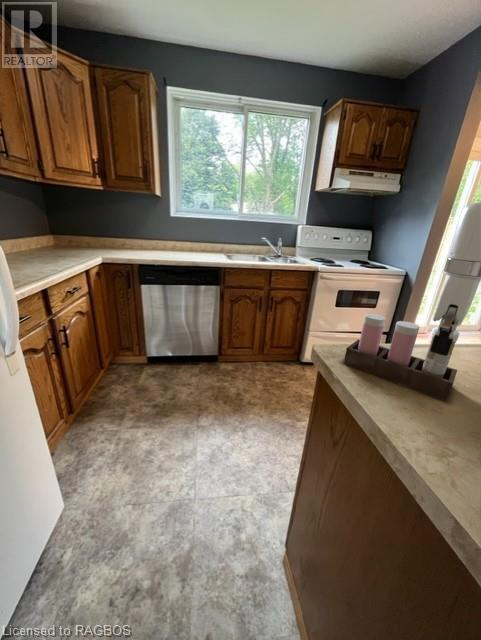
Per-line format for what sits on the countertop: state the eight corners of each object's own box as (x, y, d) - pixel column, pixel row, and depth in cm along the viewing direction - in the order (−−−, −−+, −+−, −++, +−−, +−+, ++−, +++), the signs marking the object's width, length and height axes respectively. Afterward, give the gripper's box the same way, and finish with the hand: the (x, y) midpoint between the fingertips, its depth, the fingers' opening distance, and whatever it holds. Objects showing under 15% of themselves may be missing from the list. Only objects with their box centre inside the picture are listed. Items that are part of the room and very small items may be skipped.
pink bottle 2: (407, 372, 69) (421, 324, 65) (402, 379, 66) (417, 330, 61) (387, 365, 72) (399, 319, 68) (381, 371, 69) (394, 324, 64)
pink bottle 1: (377, 361, 74) (388, 316, 69) (371, 368, 70) (382, 321, 66) (359, 355, 77) (368, 312, 72) (352, 361, 73) (362, 316, 69)
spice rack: (451, 386, 65) (457, 369, 63) (446, 401, 59) (453, 383, 57) (355, 353, 79) (358, 339, 78) (343, 363, 73) (346, 347, 72)
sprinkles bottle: (416, 375, 67) (432, 324, 62) (438, 379, 65) (456, 328, 61) (420, 384, 63) (437, 331, 58) (443, 389, 61) (463, 335, 57)
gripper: (450, 263, 63) (428, 334, 70) (438, 270, 51) (413, 355, 58) (492, 267, 59) (464, 344, 65) (490, 276, 47) (456, 369, 53)
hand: (440, 348), depth 61 cm, fingers closed on sprinkles bottle, 4 cm apart
